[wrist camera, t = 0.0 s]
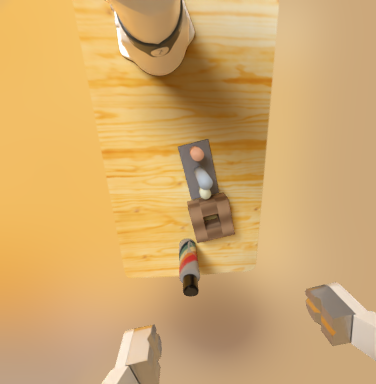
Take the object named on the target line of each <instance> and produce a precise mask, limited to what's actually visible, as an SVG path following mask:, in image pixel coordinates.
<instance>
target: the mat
mask: <svg viewBox="0 0 376 384" xmlns="http://www.w3.org/2000/svg"><path fill="white" fill-rule="evenodd" d="M193 146H197V147H199V148H200V149H201V150H202V151H203V152H204V157H203V159H202V160H201V161H195V160H193V159H192V157H191V155H190V148H191V147H193ZM178 149H179V153H180V157H181V161H182V164H183V168H184V172H185V176H186V180H187V184H188V188H189V192H190V196H191V199H196V198H200V197H201V196H200V193H199V183H198V181H197V178H196V175H195V173H194V169H195V168H196V167H197V166H202V167H203V168H204V169H205V170H206V172H207V173H208V175H209V176H210V178H211V179H212V181H213V185H212V187H211V188H210V191H211V195H212V194H216V193H219V191H218V186H217V181H216V176H215V171H214V166H213V161H212V156H211V151H210V146H209V141H208V139H206V140H202V141H198V142H194V143H191V144H187V145H183V146H179V147H178Z"/></svg>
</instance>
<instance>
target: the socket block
mask: <svg viewBox="0 0 376 384" xmlns="http://www.w3.org/2000/svg"><path fill="white" fill-rule="evenodd" d="M187 203H188V210H189V214H190V217H191V221H192V225H193V228H194V232H195V236H196V240H197V243H200V242H204V241H208V240H212V239H216V238H220V237H225V236H229V235H233V234H235V233H234V227H233V222H232V217H231V211H230V206H229V200H228V198H227V197H226V196H225V194H224V193H220V194H216V195H212V196H211V197H210V198H209V199H202V198H200V199H196V200H192V201H188V202H187ZM213 214H217V218H216V219H211V220H207V221H204V220H203V217H205V216H209V215H213Z"/></svg>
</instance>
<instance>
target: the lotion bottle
mask: <svg viewBox="0 0 376 384" xmlns="http://www.w3.org/2000/svg"><path fill="white" fill-rule="evenodd" d="M179 276H180V281H181V282H182V283H183V293H184V295H186V296H195V295H197V294H198V281H199V279H200V273H199V266H198V259H197V253H196V246H195V243H194V241H193V240H191V239H184V240H182V241H181V242H180V244H179Z"/></svg>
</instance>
